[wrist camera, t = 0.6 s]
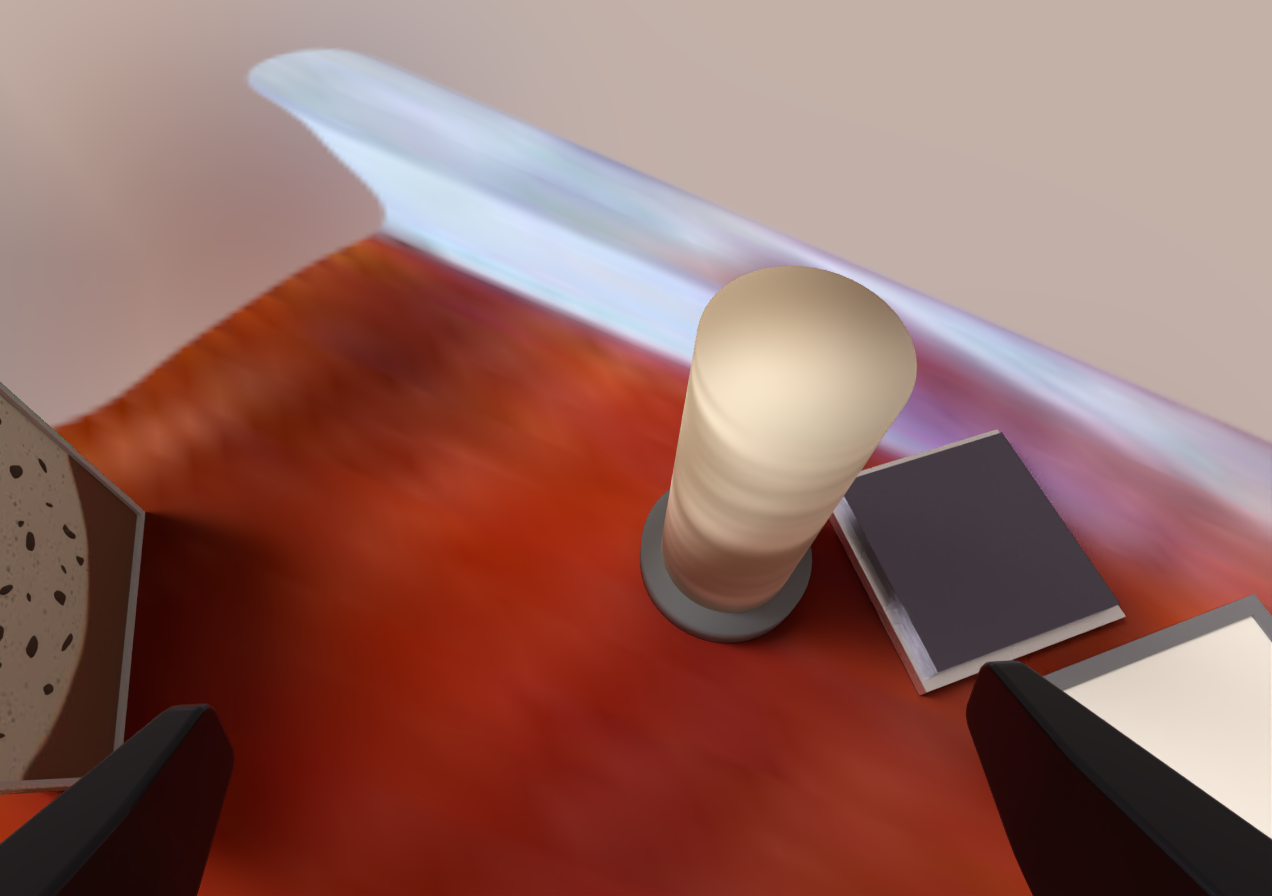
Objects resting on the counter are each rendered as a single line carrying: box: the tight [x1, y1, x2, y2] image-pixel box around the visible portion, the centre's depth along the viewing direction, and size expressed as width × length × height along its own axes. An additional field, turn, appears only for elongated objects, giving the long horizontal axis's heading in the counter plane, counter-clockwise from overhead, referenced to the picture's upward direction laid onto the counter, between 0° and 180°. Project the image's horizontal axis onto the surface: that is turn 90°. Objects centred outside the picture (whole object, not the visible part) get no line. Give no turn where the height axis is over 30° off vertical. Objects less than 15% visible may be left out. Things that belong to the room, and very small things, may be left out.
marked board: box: [1043, 594, 1272, 839], centre depth 22 cm, size 10×10×1 cm
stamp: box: [640, 266, 917, 643], centre depth 20 cm, size 6×6×13 cm
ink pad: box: [829, 429, 1125, 695], centre depth 25 cm, size 8×8×1 cm
